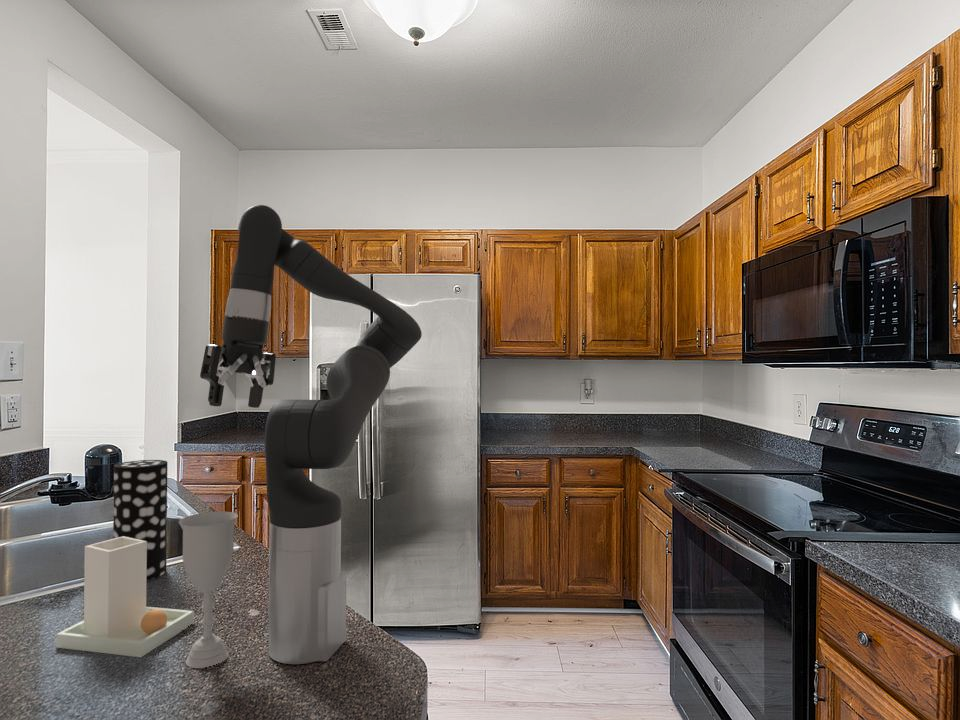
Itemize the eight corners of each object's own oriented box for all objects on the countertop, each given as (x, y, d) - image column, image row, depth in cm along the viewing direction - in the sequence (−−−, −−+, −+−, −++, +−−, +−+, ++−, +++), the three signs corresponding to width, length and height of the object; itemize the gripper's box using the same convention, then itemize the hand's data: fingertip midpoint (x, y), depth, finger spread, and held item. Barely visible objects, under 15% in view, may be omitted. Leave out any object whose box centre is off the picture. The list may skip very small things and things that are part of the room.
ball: (173, 627, 82) (170, 604, 83) (157, 637, 79) (154, 614, 79) (154, 629, 83) (151, 606, 83) (137, 639, 80) (133, 616, 80)
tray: (193, 623, 86) (193, 611, 86) (140, 657, 76) (140, 643, 76) (117, 615, 88) (117, 603, 88) (56, 647, 78) (56, 633, 78)
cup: (145, 625, 84) (146, 541, 84) (107, 641, 79) (108, 551, 79) (122, 618, 86) (123, 536, 86) (83, 633, 81) (84, 546, 81)
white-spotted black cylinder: (132, 566, 110) (133, 459, 110) (175, 567, 109) (176, 460, 109) (101, 583, 101) (103, 467, 101) (148, 584, 101) (150, 467, 101)
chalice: (212, 675, 71) (214, 527, 72) (163, 669, 73) (165, 524, 73) (247, 647, 79) (249, 513, 79) (202, 642, 80) (204, 510, 80)
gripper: (262, 322, 114) (250, 405, 113) (199, 309, 101) (185, 403, 100) (291, 324, 111) (279, 410, 110) (230, 311, 98) (216, 407, 97)
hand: (234, 406), depth 105 cm, fingers open, 8 cm apart
